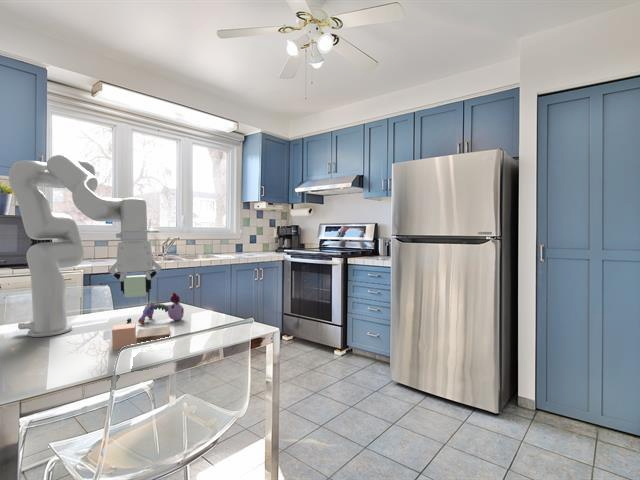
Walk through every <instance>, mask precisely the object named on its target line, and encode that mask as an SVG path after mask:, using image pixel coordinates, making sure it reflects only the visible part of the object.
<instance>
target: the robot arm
mask: <svg viewBox="0 0 640 480" xmlns="http://www.w3.org/2000/svg"><path fill="white" fill-rule="evenodd" d="M95 175H96V171H95V166H94V165H93V164H92V163H91V162H90V161H89V160H87V159H85V158H80V157H75V156H71V155H65V154H57V155H52V156H51V157H49V159H48V160H47V161H46V162H44V161H38V160H25V159H24V160H19V161H16V162H15V163H13V164H12V165H11V167H10V168H9V171H8V183H9V186H10V189H11V191H12V193H13V195H14V197H15V200H16V202H17V204H18V208H19V212H20V217H21V219H22V225H23V227H24V231H25V234H26V235H27V237H28V238H30V239H31V240H36V241H37V240H39V241H40V240H41V241H42V240H45V241H46V240H47V241H48V240H56V241H53V242H52V241H49V242H39V243H36V244H33V245H31V246H30V247H29V248H28V250H27V251H26V261H27V265H28V268H29V269H28V270H29V274H30V283H31V284H30V285H31V286H30V287H31V304H32V308H31V310H32V320H31V321H29V322H18V326H17V328H18V330H26V329H27V330H28V331H27V336H28V337H32V338H33V337H34V338H40V337H42V338H43V337H50V336H56V335H61V334H65V333H68V332H69V331H71V330H72V329H73V326H72V325H71V324H69V323H68V321H67V296H66V294H67V293H66V280H65V277H64V275H63V274H62V272H61V271H60V270H59V269H64V268H74V267H77V266H78V265H81V263H82V262H83V260H84V258H85V251H84V246H83V242H82V239H81V235H80V232H79V227H78V224H77V222H76V221H75V220H74V218H73V217H72V216H70V215H69V214H66V213H57V212H56V213H55V212H53V211H52V210H51V207H50V202H49V200H48V198H47V196H46V195H45V194H44V193H43V191H41V190H40V189H39V188H38V187H46V188H55V189H64V188H66V189H68V191H70V192H71V198H72V202H73V204H74V206H75V208H76V209H77V210H78V211H80V212H81V213H82V214H83V215H84V216H86V218H89V220H92V221H96V222H112V223H113V222H116V223H117V222H120V232H119V233H116V234H115V237H116V239H118V238H119V239H120V241H118V243H117V249H116V250H117V252H116V262H115V263H114V264H113V265H112V266H111V267H109V269H108V273H110V274H111V275H112V276H114V278H116V280H118V281H119V282H120V292H122V294H123V295H124V278H125V277H126V276H128V275H127V274H129V273H130V274H131V273H144V275H146V277H147V278H146V292H147V293H149V292H150V290H151V289H152V278H154V277H155V275H157V274H158V273H159V272H160V271H161V270H162V266H161V265H159V263H157V262H156V261H155V260H154V259H153V249H152V245H151V241H150V240H149V239H148V218H147V217H148V216H147V212H148V211H147V202H146V200H145V199H143V198H140V197H139V198H138V197H136V198H135V197H127V198H126V197H125V198H115V197H112V198H111V197H100V196H98V195H97V194H96V193H94V192H96V190H97V188H98V184H99V183H98V179H97V177H95ZM153 268H155V269H154V270H153V271H152V272H151V270H152V269H153ZM116 270H117V271H116Z"/></svg>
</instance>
